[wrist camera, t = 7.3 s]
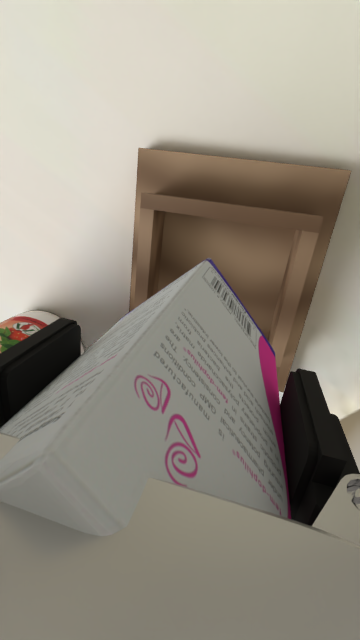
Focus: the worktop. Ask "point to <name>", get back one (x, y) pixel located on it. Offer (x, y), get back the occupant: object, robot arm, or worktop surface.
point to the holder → (237, 233)
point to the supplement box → (155, 414)
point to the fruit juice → (24, 327)
